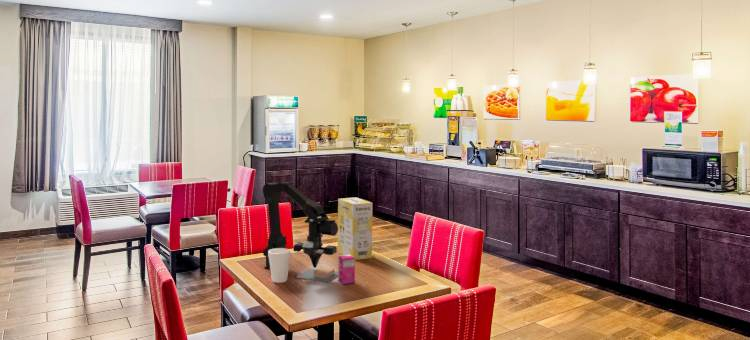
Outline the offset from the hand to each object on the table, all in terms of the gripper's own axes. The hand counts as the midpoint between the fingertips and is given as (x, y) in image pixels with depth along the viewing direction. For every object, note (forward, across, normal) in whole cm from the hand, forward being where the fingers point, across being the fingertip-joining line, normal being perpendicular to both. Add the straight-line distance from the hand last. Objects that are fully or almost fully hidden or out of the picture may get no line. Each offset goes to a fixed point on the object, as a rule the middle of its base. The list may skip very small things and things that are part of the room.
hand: (315, 267), depth 239 cm
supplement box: (+4, +17, -5) cm, 18 cm away
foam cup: (+4, -11, -12) cm, 17 cm away
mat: (+4, +2, 0) cm, 4 cm away
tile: (+2, +1, 0) cm, 2 cm away
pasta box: (+4, +4, +39) cm, 39 cm away
